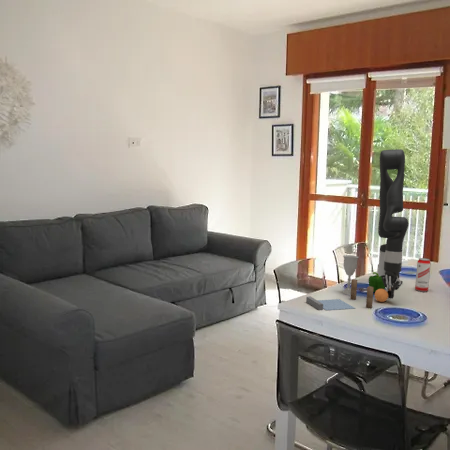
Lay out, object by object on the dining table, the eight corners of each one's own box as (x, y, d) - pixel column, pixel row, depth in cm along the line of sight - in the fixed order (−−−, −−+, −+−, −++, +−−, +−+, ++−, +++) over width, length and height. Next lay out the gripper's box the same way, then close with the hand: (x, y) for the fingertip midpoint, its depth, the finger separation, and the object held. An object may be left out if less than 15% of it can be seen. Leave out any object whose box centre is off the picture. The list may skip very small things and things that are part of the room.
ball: (382, 300, 230) (370, 299, 228) (384, 288, 229) (373, 286, 228) (389, 304, 224) (378, 302, 222) (392, 291, 224) (380, 289, 222)
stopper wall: (306, 302, 222) (306, 296, 222) (310, 301, 223) (310, 296, 222) (318, 310, 211) (318, 304, 210) (322, 309, 211) (323, 304, 211)
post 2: (364, 306, 218) (366, 286, 217) (369, 306, 219) (371, 286, 217) (368, 308, 215) (369, 288, 214) (373, 308, 216) (374, 287, 215)
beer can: (429, 292, 245) (432, 260, 243) (416, 291, 246) (418, 259, 244) (427, 289, 251) (429, 258, 249) (413, 288, 252) (416, 257, 250)
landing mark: (311, 301, 224) (311, 300, 224) (339, 299, 228) (339, 299, 228) (326, 310, 211) (326, 309, 211) (355, 308, 215) (355, 308, 215)
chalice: (356, 292, 241) (359, 255, 239) (355, 295, 235) (358, 258, 233) (341, 290, 244) (343, 254, 241) (339, 294, 237) (342, 257, 235)
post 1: (349, 298, 230) (350, 279, 229) (354, 298, 231) (355, 279, 230) (352, 299, 228) (353, 280, 227) (357, 299, 229) (358, 280, 227)
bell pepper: (386, 291, 245) (388, 271, 243) (384, 295, 237) (386, 275, 236) (369, 289, 248) (370, 269, 247) (366, 293, 241) (368, 272, 239)
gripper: (377, 258, 229) (374, 294, 231) (395, 264, 217) (392, 302, 219) (390, 257, 232) (388, 293, 234) (409, 263, 219) (406, 301, 221)
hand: (390, 298), depth 226 cm, fingers closed
